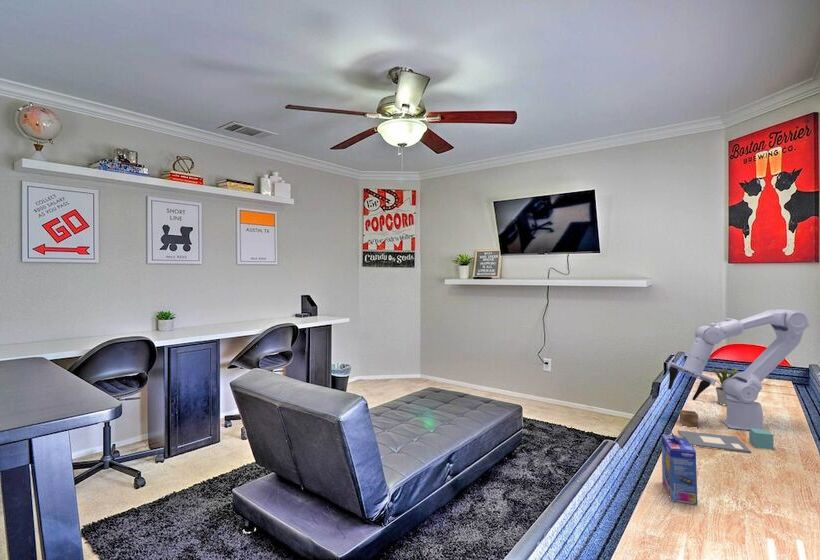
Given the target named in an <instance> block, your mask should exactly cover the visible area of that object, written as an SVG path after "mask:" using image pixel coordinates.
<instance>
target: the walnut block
mask: <svg viewBox="0 0 820 560" xmlns="http://www.w3.org/2000/svg"><path fill="white" fill-rule="evenodd" d="M680 423H681V424H682V425H681V424H680ZM679 424H680V425H681V427H683V426H687V427H686V428H690V427H697V428H696V429H699V415H698V412H696V411H695V410H694V411H693V410H683V409H679Z"/></svg>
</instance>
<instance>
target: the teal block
mask: <svg viewBox="0 0 820 560" xmlns="http://www.w3.org/2000/svg"><path fill="white" fill-rule="evenodd" d="M748 431H749V432H748V443H750V445H751V446H753V448H756V449H764V450H765V449H766V450H772V451H773V450H774V437H775V436H774V434H773V433H772V432H771V431H769V430H768V429H764V428H763V429H755V428H749V430H748Z"/></svg>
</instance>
